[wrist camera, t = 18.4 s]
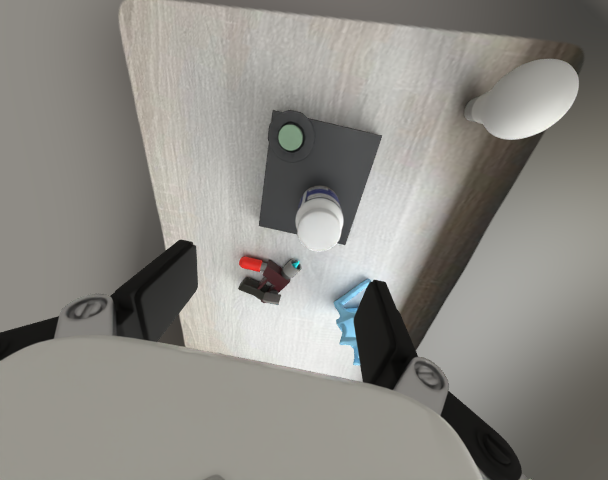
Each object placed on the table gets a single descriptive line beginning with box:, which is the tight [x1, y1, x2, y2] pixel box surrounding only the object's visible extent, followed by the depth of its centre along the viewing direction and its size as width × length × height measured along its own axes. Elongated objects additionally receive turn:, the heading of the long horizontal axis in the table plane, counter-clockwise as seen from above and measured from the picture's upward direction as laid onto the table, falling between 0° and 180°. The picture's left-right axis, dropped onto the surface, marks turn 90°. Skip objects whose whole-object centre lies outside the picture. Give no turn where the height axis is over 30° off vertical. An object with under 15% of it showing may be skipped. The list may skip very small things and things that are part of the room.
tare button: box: [278, 125, 303, 151], centre depth 26 cm, size 3×3×2 cm
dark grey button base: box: [259, 110, 382, 245], centre depth 31 cm, size 16×14×4 cm
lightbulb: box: [464, 59, 579, 140], centre depth 22 cm, size 6×6×11 cm
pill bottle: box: [295, 186, 343, 251], centre depth 27 cm, size 6×6×10 cm
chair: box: [334, 279, 371, 365], centre depth 36 cm, size 8×8×12 cm
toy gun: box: [238, 257, 301, 305], centre depth 38 cm, size 10×12×5 cm
